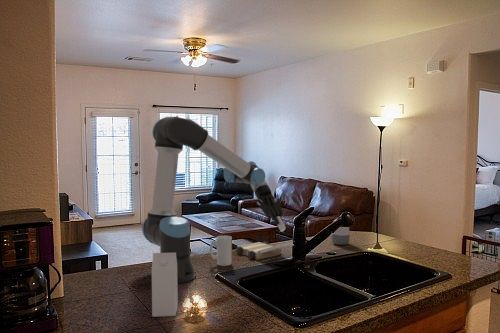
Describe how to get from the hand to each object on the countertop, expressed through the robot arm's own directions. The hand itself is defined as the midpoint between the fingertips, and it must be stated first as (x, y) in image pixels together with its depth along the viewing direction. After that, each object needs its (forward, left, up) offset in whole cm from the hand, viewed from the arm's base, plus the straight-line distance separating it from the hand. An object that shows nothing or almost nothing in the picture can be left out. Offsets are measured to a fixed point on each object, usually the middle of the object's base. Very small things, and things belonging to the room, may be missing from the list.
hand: (283, 229), depth 183 cm
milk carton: (-52, -45, -15) cm, 70 cm away
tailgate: (-4, +8, -11) cm, 14 cm away
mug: (-28, +2, -15) cm, 32 cm away
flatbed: (-8, +16, -15) cm, 23 cm away
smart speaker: (+39, +25, -15) cm, 49 cm away
